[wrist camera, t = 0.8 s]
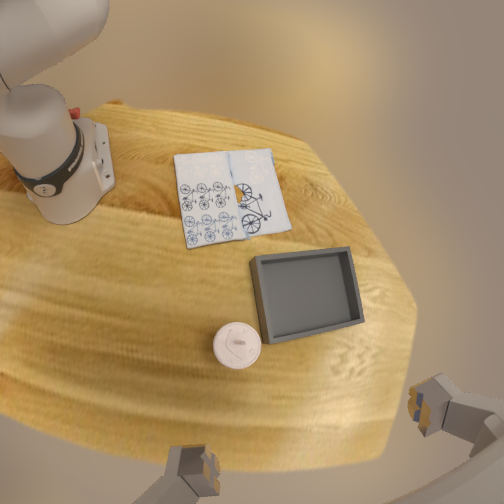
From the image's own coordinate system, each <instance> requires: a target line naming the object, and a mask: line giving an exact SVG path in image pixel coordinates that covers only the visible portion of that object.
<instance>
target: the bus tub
mask: <svg viewBox="0 0 504 504" xmlns="http://www.w3.org/2000/svg"><path fill="white" fill-rule="evenodd" d="M249 263H250V269H251V275H252V281H253V287H254V293H255V300H256V306H257V312H258V318H259V324H260V330H261V336H262V342H263V344H273V343H278V342H283V341H288V340H293V339H298V338H302V337H307V336H311V335H315V334H320V333H324V332H328V331H332V330H336V329H340V328H344V327H348V326H352V325H356V324H360V323H363V322H365V320H364V315H363V309H362V303H361V298H360V293H359V288H358V283H357V278H356V273H355V269H354V264H353V259H352V255H351V251H350V246H349V247H339V248H329V249H320V250H310V251H300V252H291V253H281V254H271V255H261V256H255V257H254V258H253V259H252V260H251V261H250V262H249Z"/></svg>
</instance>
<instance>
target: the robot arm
mask: <svg viewBox="0 0 504 504" xmlns="http://www.w3.org/2000/svg"><path fill="white" fill-rule="evenodd" d="M108 13H109V0H0V152H1V153H2V154H3V155H4V156H5V158H6V159H7V160H8V161H9V162H10V163H11V164H12V166H13V168H14V171H15V173H16V175H17V177H18V179H19V180H21V182H22V184H23V186H24V187H25V189H26V190H27V197H28V199H29V200H30V201H31V202H32V203H34V204H36V205H37V207H38V209H39V211H40V213H41V214H42V216H43V217H44V218H45V219H46V220H48V221H49V222H52V223H54V224H60V225H64V224H70V223H74V222H76V221H78V220H80V219H82V218H83V217H85V216H86V215H87V214H89V213H90V212H91V211H92V210H93V208H94V207H95V206H96V205H97V203H98V202H99V200H100V199H101V197H102V196H103V195H104V194H106V193H107V192H108V191H110V190H111V189H112V188H113V187H114V186H115V183H116V181H115V175H114V169H113V163H112V156H111V150H110V142H109V135H108V129H107V126H106V125H104V124H101V123H97V122H93V120H91V119H89V118H86V117H80V109H79V108H74V109H69V110H68V107H67V105H66V102H65V99H64V97H63V95H62V94H61V93H60V92H59V91H58V90H56V89H54V88H53V87H50V86H48V85H44V84H31V85H20V84H21V83H23V82H25V81H27V80H28V79H30V78H32V77H34V76H35V75H37V74H39V73H41V72H43V71H44V70H46V69H48V68H50V67H52V66H54V65H56V64H58V63H60V62H62V61H63V60H65V59H66V58H68V57H69V56H71V55H73V54H74V53H76V52H77V51H79V50H80V49H82V48H83V47H85V46H86V45H88V44H89V43H91V42H93V41H94V40H96V39H97V38H98V37H99V35H100V34H101V32H102V30H103V28H104V26H105V23H106V21H107V17H108ZM108 176H110V177H109V178H106V177H108ZM409 395H410V396H411V398H410V399H409V401H408V411H409V414H410V416H411V418H412V420H413V421H416V422H419V424H418V428H419V430H420V431H421V433H422V434H423V436H424V437H427V436H429V435H431V434H433V433H435V432H437V431H439V430H441V429H442V430H443V431H445V432H448V433H450V434H452V435H454V436H457V437H459V438H461V439H464V440H466V441H469V442H471V443H473V444H474V446H473V448H472V450H471V452H470V454H469V457H470V459H469V460H467V461H466V462H464V463H462V464H461V465H459V466H458V467H456V468H454V469H453V470H451V471H449V472H448V473H446V474H444V475H442V476H441V477H439V478H437V479H435V480H433V481H431V482H429V483H428V484H426V485H424V486H422V487H420V488H418V489H416V490H413V491H411V492H409V493H407V494H405V495H403V496H401V497H398V498H396V499H394V500H391V501H389V502H386V503H384V504H504V400H500V399H496V398H491V397H486V396H482V395H477V394H473V393H469V392H464V393H462V392H461V391H460V390H459V389H458V388H457V387H456V386H455V385H454V384H453V383H452V382H451V381H450V380H449V379H448V378H447V377H446V376H445V375H444V374H443V373H439V374H437V375H435V376H433V377H431V378H428V379H426V380H424V381H422V382H420V383H418V384H416V385H414V386H412V387H411V388H410V389H409ZM219 475H220V466H219V462H218V459H217V457H216V455H215V454H213V453H211V447H210V446H209V444H197V445H183V446H172V447H171V448H170V450H169V455H168V460H167V465H166V470H165V475H164V476H161V477H160V478H159V479H158V480H157V481H156V482H155V483H154V484H153V485H152V486H151V487H150V488H149V489H148V490H147V491H145V492H144V494H142V495H141V496H140V497H139V498H138V499H137V500H136V501H135V502H134V503H132V504H196V502H197V501H198V499H199V497H208V496H218V495H219V490H220V483H219V481H218V480H217V477H218V476H219Z"/></svg>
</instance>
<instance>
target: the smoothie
mask: <svg viewBox="0 0 504 504" xmlns="http://www.w3.org/2000/svg"><path fill="white" fill-rule="evenodd" d="M213 351H214V354H215V356H216V358H217V359H218V361H219V362H220V363H222V364H223V365H224V366H226V367H228V368H233V369H242V368H246V367H248V366H250V365H252V364H253V363H254V362H255V361H256V360H257V358H258V356H259V354H260V351H261V340H260V337H259V335H258V333H257V332H256V330H255V329H254V328H252V327H251V326H250V325H248V324H245V323H241V322H232V323H228V324H226V325H224V326H223V327H221V328H220V329H219V330H218V331H217V333H216V335H215V337H214V340H213Z"/></svg>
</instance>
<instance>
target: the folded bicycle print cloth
mask: <svg viewBox="0 0 504 504" xmlns="http://www.w3.org/2000/svg"><path fill="white" fill-rule="evenodd" d="M174 163H175V170H176V178H177V188H178V196H179V202H180V208H181V215H182V222H183V228H184V233H185V239H186V244H187V248H188V249H193V248H197V247H200V246H206V245H211V244H216V243H221V242H227V241H233V240H245V239H248V240H251V239H250V237H253V236H259V235H265V234H273V233H280V232H285V231H289V230H291V229H292V226H291V224H290V221H289V218H288V215H287V212H286V208H285V204H284V201H283V197H282V194H281V190H280V186H279V183H278V179H277V176H276V172H275V169H274V165H275V164H274V165H273V163H274V159H273V154H272V152H271V149H270V148H265V149H256V150H238V151H218V152H207V153H193V154H177V155H175V156H174ZM233 184H234V185H236V186H237V187H238V188H239V189H240V190H241V191H242V192H243V194H244V196H243V197H241V198H242V200H241V203H237V199H236V194H235V190H234V185H233Z"/></svg>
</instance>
